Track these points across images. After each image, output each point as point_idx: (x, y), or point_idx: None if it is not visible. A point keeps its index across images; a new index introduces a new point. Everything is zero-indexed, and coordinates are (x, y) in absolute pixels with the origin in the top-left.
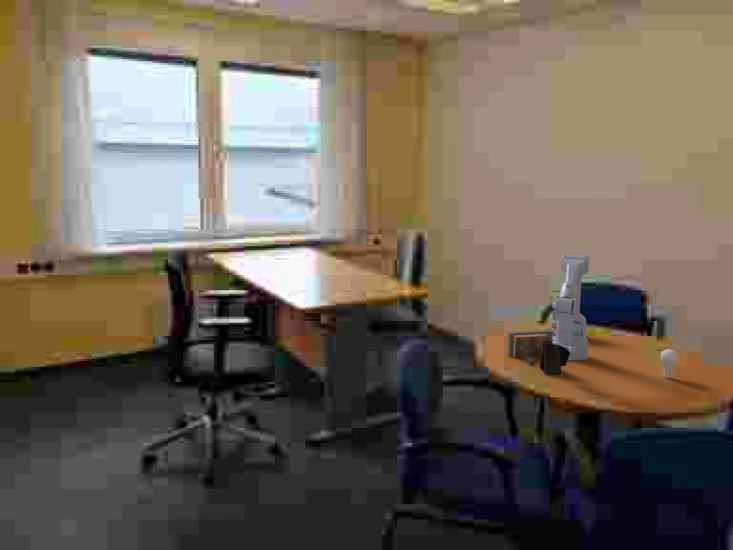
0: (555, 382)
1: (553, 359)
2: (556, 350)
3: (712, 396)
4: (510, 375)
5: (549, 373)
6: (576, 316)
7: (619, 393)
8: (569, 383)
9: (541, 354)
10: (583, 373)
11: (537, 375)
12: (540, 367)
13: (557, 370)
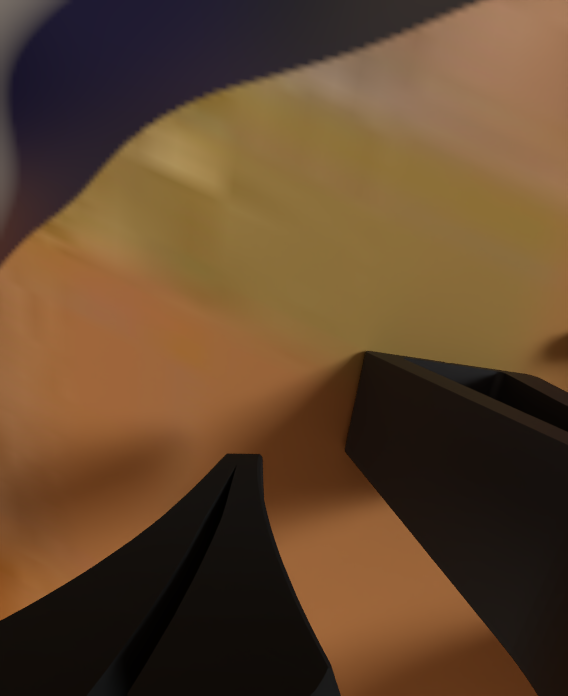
0: (229, 356)
1: (437, 479)
2: (194, 623)
3: None
4: (433, 53)
5: (364, 379)
6: None
7: (57, 584)
8: (203, 429)
9: None
10: (343, 569)
11: (376, 291)
12: (504, 373)
13: (364, 443)
